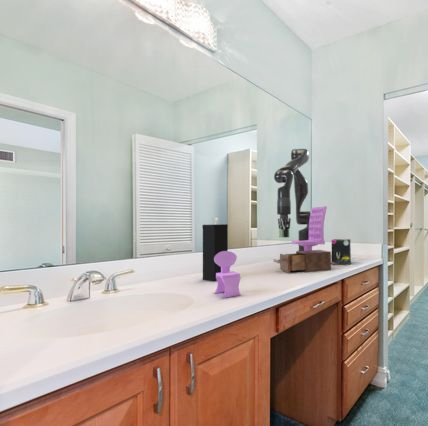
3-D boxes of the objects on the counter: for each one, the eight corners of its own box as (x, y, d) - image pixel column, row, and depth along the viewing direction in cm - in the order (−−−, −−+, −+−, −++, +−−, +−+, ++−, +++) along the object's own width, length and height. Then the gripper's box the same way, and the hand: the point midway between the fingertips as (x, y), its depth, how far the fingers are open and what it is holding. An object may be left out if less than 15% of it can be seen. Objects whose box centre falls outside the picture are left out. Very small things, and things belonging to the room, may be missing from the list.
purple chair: (291, 263, 171) (291, 207, 173) (315, 261, 180) (315, 207, 181) (303, 266, 158) (302, 205, 160) (328, 264, 167) (327, 206, 168)
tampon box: (331, 264, 167) (331, 239, 168) (333, 262, 176) (333, 239, 177) (349, 264, 165) (349, 239, 165) (351, 262, 174) (350, 239, 174)
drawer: (279, 272, 136) (279, 256, 136) (271, 269, 146) (271, 254, 146) (312, 269, 143) (312, 254, 144) (303, 266, 154) (302, 252, 154)
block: (279, 237, 154) (278, 229, 155) (286, 237, 156) (286, 229, 157) (281, 237, 150) (281, 229, 151) (289, 237, 152) (289, 229, 153)
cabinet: (306, 272, 141) (305, 253, 141) (296, 268, 152) (296, 251, 153) (331, 269, 147) (330, 251, 148) (319, 266, 159) (319, 249, 159)
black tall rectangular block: (228, 278, 128) (227, 217, 129) (214, 281, 121) (214, 217, 122) (216, 276, 132) (215, 217, 133) (202, 279, 125) (202, 217, 126)
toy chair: (220, 298, 92) (220, 253, 93) (211, 293, 99) (211, 251, 100) (243, 294, 97) (243, 251, 98) (234, 290, 104) (233, 249, 105)
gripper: (295, 205, 149) (295, 237, 149) (285, 206, 162) (285, 236, 161) (282, 204, 146) (282, 237, 145) (273, 206, 159) (273, 236, 158)
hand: (284, 236), depth 153 cm, fingers closed on block, 4 cm apart
